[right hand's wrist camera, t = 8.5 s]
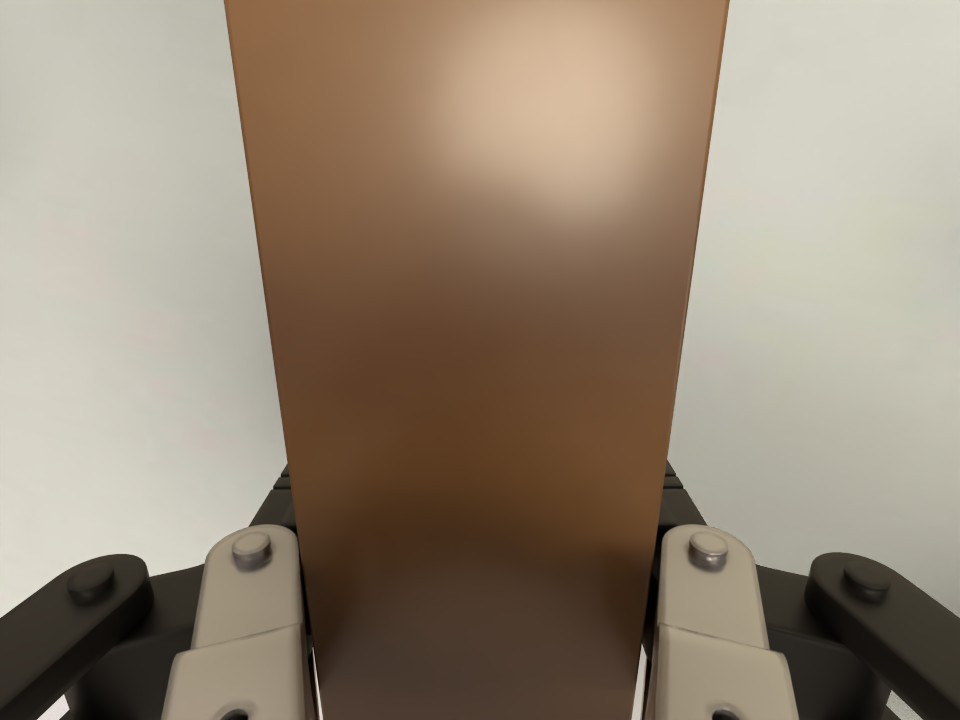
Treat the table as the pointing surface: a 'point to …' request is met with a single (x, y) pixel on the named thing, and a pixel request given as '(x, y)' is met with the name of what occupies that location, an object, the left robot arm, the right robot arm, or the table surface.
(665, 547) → the right robot arm
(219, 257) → the table surface
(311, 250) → the bar
